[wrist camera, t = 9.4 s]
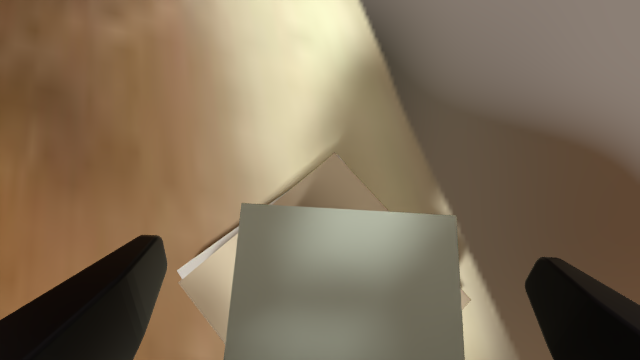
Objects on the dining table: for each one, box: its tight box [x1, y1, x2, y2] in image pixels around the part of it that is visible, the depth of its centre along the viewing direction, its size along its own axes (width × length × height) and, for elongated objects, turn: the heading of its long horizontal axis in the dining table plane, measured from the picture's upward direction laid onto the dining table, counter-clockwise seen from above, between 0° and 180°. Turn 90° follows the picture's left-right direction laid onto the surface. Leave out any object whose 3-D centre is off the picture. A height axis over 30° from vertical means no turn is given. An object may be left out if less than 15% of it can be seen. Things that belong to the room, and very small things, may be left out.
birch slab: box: [178, 153, 471, 344], centre depth 17 cm, size 10×10×2 cm
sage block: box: [224, 203, 465, 360], centre depth 11 cm, size 5×5×9 cm
